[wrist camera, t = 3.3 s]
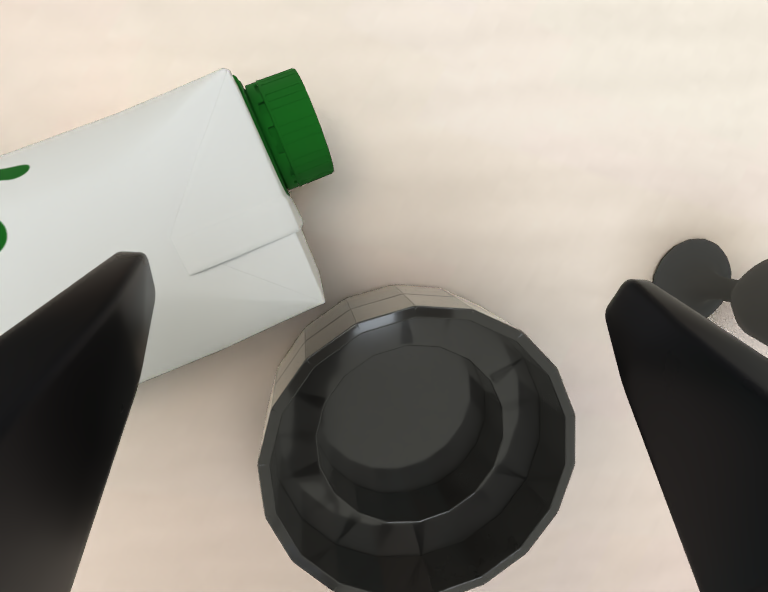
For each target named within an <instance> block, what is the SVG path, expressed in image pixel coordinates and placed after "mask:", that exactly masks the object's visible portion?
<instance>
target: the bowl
mask: <svg viewBox="0 0 768 592" xmlns="http://www.w3.org/2000/svg"><path fill="white" fill-rule="evenodd" d="M574 464H575V413H574V411H573V408H572V405H571V403H570V400H569V397H568V395H567V392H566V390H565V387H564V384H563V382H562V379H561V376H560V374H559V371H558V369H557V367H556V366H555V365H554V364H553V363H552V362H551V361H550V360H549V359H548V358H547V357H546V356H545V355H544V354H543V353H542V351H541V350H540V349H539V348H538V347H537V346H536V345H535V344H534V343H533V342H532V341H531V340H530V339H529V338H528V337H527V336H526V334H525V333H524V332H522V331H521V330H519V329H518V328H516V327H514V326H513V325H511V324H509V323H508V322H506V321H504V320H503V319H501V318H499V317H498V316H496V315H494V314H493V313H491V312H489V311H488V310H486V309H484V308H483V307H481V306H479V305H477V304H475V303H473V302H471V301H468V300H466V299H464V298H462V297H460V296H458V295H455V294H453V293H451V292H449V291H447V290H444V289H442V288H441V289H440V288H436V287H422V286H407V285H394V286H393V285H390V286H386V287H383V288H379V289H376V290H372V291H369V292H365V293H362V294H358V295H355V296H351V297H348V298H346V299H344V300H343V301H341V302H340V303H338V304H337V305H336V306H334V307H333V308H331V309H330V310H329V311H327V312H326V313H324V314H323V315H322V316H320V317H319V318H317V319H316V320H315V321H313V322H312V323H310V324H309V325H308V326H306V328H305V329H304V330H303V331H302V333H301V334H300V335H299V337H298V338H297V340H296V341H295V343H294V344H293V346H292V347H291V349H290V350H289V351H288V353H287V354H286V356H285V357H284V359H283V360H282V362H281V363H280V364H279V366H278V368H277V371H276V375H275V379H274V383H273V387H272V391H271V395H270V399H269V403H268V407H267V411H266V417H265V423H264V428H263V434H262V440H261V446H260V451H259V457H258V465H257V466H258V473H259V480H260V486H261V493H262V500H263V507H264V514H265V517H266V520H267V521H268V523H269V524H270V526H271V528H272V529H273V531H274V533H275V534H276V536H277V537H278V539H279V541H280V542H281V544H282V546H283V547H284V549H285V551H286V552H287V554H288V555H289V557H290V559H291V560H292V561H293V562H294V563H295V564H296V565H298V566H299V567H301V568H302V569H303V570H305V571H306V572H307V573H309V574H310V575H312V576H313V577H314V578H316V579H317V580H318V581H320V582H321V583H323V584H324V585H325V586H327V587H328V588H329V589H331V590H332V591H334V592H465V591H468V590H470V589H473V588H476V587H479V586H481V585H484V584H485V583H487V582H488V581H490V580H491V579H492V578H494V577H495V576H496V575H498V574H499V573H500V572H502V571H503V570H505V569H506V568H507V567H509V566H510V565H511V564H513V563H514V562H515V561H517V560H518V559H520V558H521V557H522V556H524V555H525V554H526V553H527V552H528V551H529V550H530V548H531V547H532V546H533V544H534V543H535V542H536V540H537V539H538V538H539V536H540V535H541V534H542V532H543V531H544V530H545V529H546V527H547V526H548V525H549V523H550V522H551V521H552V519H553V518H554V517H555V515H556V514H557V512H558V511H559V508H560V505H561V502H562V499H563V497H564V494H565V491H566V488H567V485H568V483H569V480H570V477H571V474H572V471H573V469H574V466H575V465H574Z"/></svg>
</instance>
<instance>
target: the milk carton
mask: <svg viewBox="0 0 768 592" xmlns="http://www.w3.org/2000/svg"><path fill="white" fill-rule="evenodd" d="M245 88H246V89H244V87H243V85H242V84H241V82H240V81H239V80H238V79H237V77H236V76H234V75H232V73H231V72H230V70H228V69H225V68H222V69H220V70H217V71H215V72H213V73H211V74H208V75H206V76H204V77H201V78H199V79H197V80H194V81H192V82H190V83H187V84H185V85H183V86H180V87H178V88H176V89H173V90H171V91H169V92H166V93H164V94H162V95H159V96H157V97H155V98H152V99H150V100H148V101H145V102H143V103H141V104H138V105H136V106H133V107H131V108H129V109H126V110H124V111H121V112H119V113H116V114H114V115H111V116H108V117H106V118H103V119H100V120H97V121H95V122H92V123H89V124H86V125H84V126H81V127H78V128H75V129H73V130H70V131H67V132H65V133H62V134H59V135H56V136H54V137H51V138H48V139H45V140H43V141H40V142H37V143H34V144H32V145H29V146H26V147H24V148H21V149H18V150H15V151H13V152H10V153H7V154H4V155H2V156H0V336H1V335H2V334H3V333H5V332H6V331H8V330H9V329H10V328H12V327H13V326H15V325H16V324H17V323H19V322H20V321H21V320H23V319H24V318H26V317H27V316H28V315H30V314H31V313H33V312H34V311H35V310H37V309H38V308H40V307H41V306H42V305H44V304H45V303H47V302H48V301H49V300H51V299H52V298H54V297H55V296H56V295H58V294H59V293H61V292H62V291H63V290H65V289H66V288H68V287H69V286H70V285H72V284H73V283H75V282H76V281H77V280H79V279H80V278H82V277H83V276H84V275H86V274H87V273H89V272H90V271H91V270H93V269H94V268H96V267H97V266H98V265H100V264H101V263H102V262H104V261H105V260H107V259H108V258H109V257H111V256H112V255H114V254H115V253H117V252H120V251H128V252H142V253H144V254H145V255H146V256H147V258H148V261H149V265H150V269H151V273H152V277H153V282H154V286H155V304H154V309H153V314H152V320H151V325H150V330H149V336H148V341H147V346H146V352H145V357H144V362H143V367H142V372H141V377H140V380H139V383H142V382H144V381H147V380H149V379H152V378H154V377H156V376H159V375H161V374H164V373H166V372H169V371H171V370H173V369H176V368H178V367H181V366H183V365H186V364H188V363H191V362H193V361H195V360H198V359H200V358H203V357H205V356H207V355H210V354H212V353H215V352H217V351H220V350H222V349H224V348H226V347H229V346H231V345H233V344H235V343H237V342H240V341H242V340H244V339H246V338H248V337H250V336H252V335H255V334H257V333H259V332H261V331H263V330H265V329H267V328H270V327H272V326H274V325H276V324H278V323H280V322H283V321H285V320H287V319H289V318H291V317H294V316H296V315H298V314H300V313H303V312H305V311H307V310H309V309H311V308H314V307H316V306H318V305H321V304H323V303H325V297H324V292H323V288H322V283H321V278H320V274H319V270H318V268H317V265H316V263H315V261H314V258H313V256H312V254H311V251H310V249H309V246H308V244H307V242H306V239H305V237H304V235H303V232H302V230H301V227H302V225H303V221H302V218H301V216H300V214H299V212H298V210H297V208H296V206H295V204H294V202H293V200H292V199H291V197H290V196H289V192H288V190H287V189H289V190H290V189H293V188H295V187H298V186H302V185H304V184H307V183H309V182H312V181H314V180H317V179H319V178H322V177H324V176H327V175H329V174H332V172H333V171H334V168H333V163H332V159H331V156H330V153H329V149H328V146H327V143H326V140H325V137H324V135H323V132H322V129H321V126H320V124H319V121H318V118H317V116H316V113H315V111H314V108H313V106H312V103H311V101H310V98H309V96H308V94H307V91H306V89H305V87H304V85H303V82H302V80H301V78H300V76H299V75H298V73H297V71H296V70H295V69H292V68H291V69H289V70H286V71H283V72H280V73H278V74H275V75H272V76H269V77H266V78H264V79H261V80H257V81H256V82H254V83H251V84H249V85H246V86H245ZM298 184H299V185H298Z"/></svg>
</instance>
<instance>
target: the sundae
mask: <svg viewBox="0 0 768 592" xmlns="http://www.w3.org/2000/svg"><path fill="white" fill-rule="evenodd" d="M653 284H655V285H656V286H658V287H659V288H661V289H662V290H664V291H666V292H667V293H669V294H670V295H672V296H673V297H675V298H676V299H678V300H679V301H681V302H682V303H684V304H685V305H687V306H688V307H690V308H691V309H693V310H695V311H696V312H698V313H699V314H701V315H702V316H704V317H705V318H707V317H708V316H710V315H711V314H712V313H713V312H714V311H715V310H716V309H717V308H718V307H719V306H720V305H721V304H722V302H723V301H727V302H731V307H732V310H733V313H734V316H735V319H736V321H737V323H738V325H739V326H740V328H741V329H742V330H743V331H744V332H745V333H747V334H748V335H750V336H752V337H753V338H755V339H757V340H758V341H760V342H762V343H763V344H765V345H767V346H768V259H767V260H764V261H762V262H761V263H759V264H757V265H756V266H754V267H753V268H752V269H750V270H749V271H748V272H747V273H746V274H744V275H743V276H742V277H741V278H740V280H734V279H731V269H730V264H729V261H728V259H727V256H726V255H725V253H724V252H723V251H722V249H721V248H720V247H719V246H718V245H716V244H715V243H713V242H711V241H708V240H706V239H690V240H687V241H684V242H682V243H680V244H678V245H676V246H675V247H673V248H672V249H671V250H670V251H669V252H668V253H667V254H666V255H665V257H664V258H663V259H662V260H661V262H660V264H659V266H658V268H657V270H656V273H655V275H654V281H653Z"/></svg>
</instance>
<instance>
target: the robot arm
mask: <svg viewBox="0 0 768 592" xmlns="http://www.w3.org/2000/svg"><path fill="white" fill-rule="evenodd" d="M154 304H155V286H154V282H153V277H152V273H151V269H150V265H149V261H148V258H147V256H146V255H145V254H144V253H142V252H128V251H120V252H117V253H115V254H114V255H112V256H111V257H109V258H108V259H107V260H105V261H104V262H102V263H101V264H100V265H98V266H97V267H96V268H94V269H93V270H91V271H90V272H89V273H87V274H86V275H84V276H83V277H82V278H80V279H79V280H77V281H76V282H75V283H73V284H72V285H70V286H69V287H68V288H66V289H65V290H63V291H62V292H61V293H59V294H58V295H56V296H55V297H54V298H52V299H51V300H49V301H48V302H47V303H45V304H44V305H42V306H41V307H40V308H38V309H37V310H35V311H34V312H33V313H31V314H30V315H28V316H27V317H26V318H24V319H23V320H21V321H20V322H19V323H17V324H16V325H15V326H13V327H12V328H10V329H9V330H8V331H6V332H5V333H3V334H2V335H1V336H0V592H70V591H71V588H72V585H73V582H74V579H75V576H76V573H77V570H78V567H79V564H80V561H81V558H82V555H83V552H84V548H85V545H86V542H87V539H88V536H89V533H90V530H91V527H92V524H93V521H94V518H95V515H96V512H97V509H98V506H99V503H100V500H101V497H102V494H103V491H104V488H105V485H106V482H107V479H108V476H109V473H110V469H111V466H112V463H113V460H114V457H115V454H116V451H117V448H118V445H119V442H120V439H121V436H122V433H123V430H124V427H125V424H126V421H127V418H128V415H129V412H130V409H131V406H132V403H133V400H134V397H135V393H136V390H137V387H138V384H139V380H140V377H141V372H142V367H143V362H144V357H145V352H146V346H147V341H148V336H149V330H150V325H151V320H152V314H153V309H154ZM605 319H606V323H607V327H608V331H609V335H610V339H611V342H612V346H613V350H614V354H615V358H616V362H617V366H618V370H619V374H620V377H621V381H622V384H623V387H624V390H625V393H626V396H627V398H628V401H629V404H630V406H631V409H632V412H633V414H634V417H635V420H636V422H637V425H638V428H639V430H640V433H641V436H642V438H643V441H644V444H645V446H646V449H647V452H648V454H649V457H650V460H651V462H652V465H653V468H654V470H655V473H656V476H657V478H658V481H659V484H660V486H661V489H662V492H663V494H664V497H665V500H666V502H667V505H668V508H669V510H670V513H671V516H672V519H673V521H674V524H675V527H676V529H677V532H678V535H679V537H680V540H681V543H682V545H683V548H684V551H685V553H686V556H687V559H688V561H689V564H690V567H691V569H692V572H693V575H694V577H695V580H696V583H697V585H698V588H699V591H700V592H768V358H766V357H765V356H763V355H762V354H760V353H759V352H757V351H756V350H754V349H753V348H751V347H749V346H748V345H746V344H745V343H743V342H742V341H740V340H739V339H737V338H736V337H734V336H733V335H731V334H730V333H728V332H727V331H725V330H724V329H722V328H720V327H719V326H717V325H716V324H714V323H713V322H711V321H710V320H708V319H707V318H705V317H704V316H702V315H701V314H699V313H698V312H696V311H695V310H693V309H691V308H690V307H688V306H687V305H685V304H684V303H682V302H681V301H679V300H678V299H676V298H675V297H673V296H672V295H670V294H669V293H667V292H666V291H664V290H662V289H661V288H659V287H658V286H656V285H655V284H653V283H652V282H650V281H647V280H637V279H630V280H627V281H625V282H624V283H623V284H622V285H621V287H620V288H619V290H618V291H617V293H616V294H615V296H614V297H613V299H612V300H611V302H610V303H609V305H608V306H607V309H606V313H605Z"/></svg>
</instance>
